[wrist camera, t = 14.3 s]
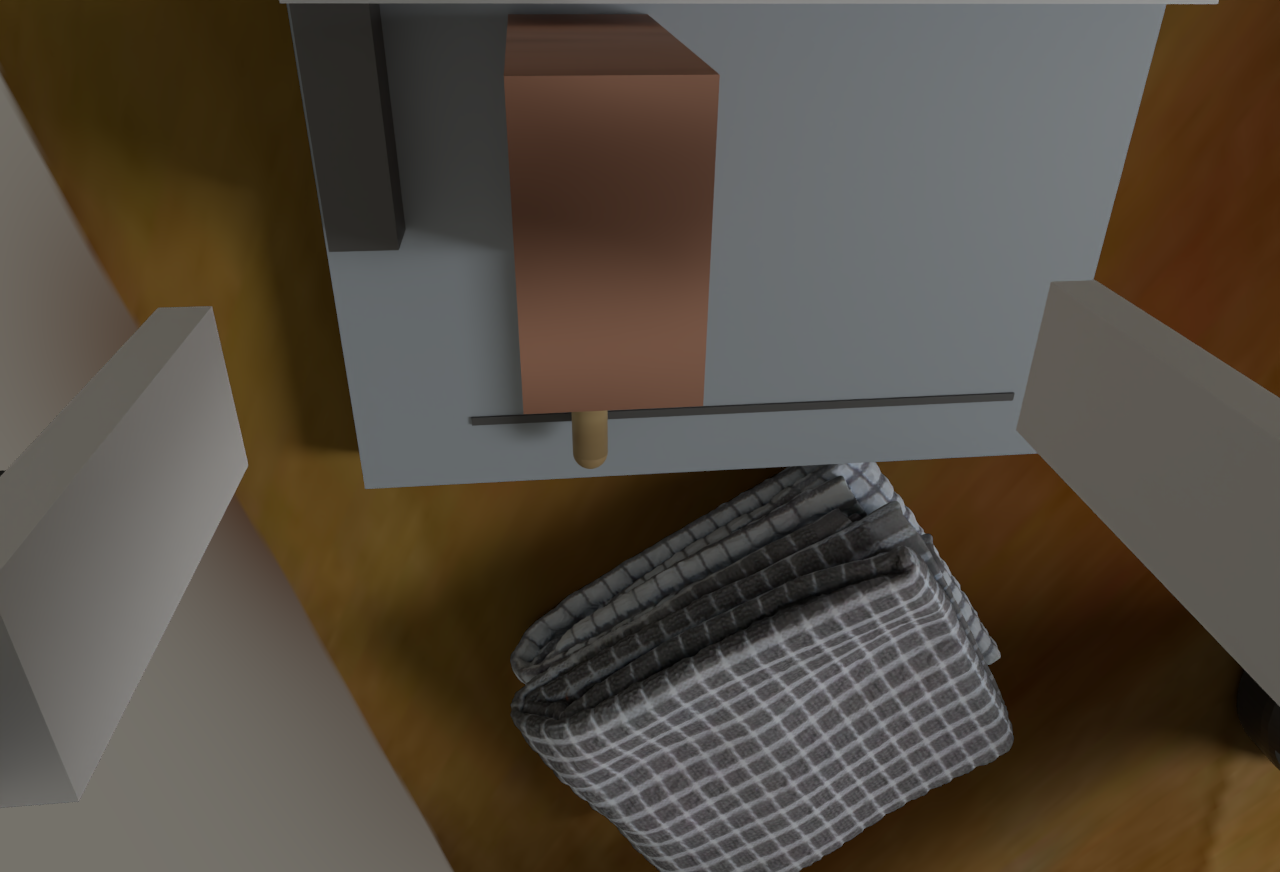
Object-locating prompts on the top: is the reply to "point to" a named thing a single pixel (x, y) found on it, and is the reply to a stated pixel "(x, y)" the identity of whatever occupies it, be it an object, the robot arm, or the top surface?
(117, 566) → the robot arm
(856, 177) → the board
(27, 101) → the top surface
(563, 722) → the towel
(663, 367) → the brown blocky piece
